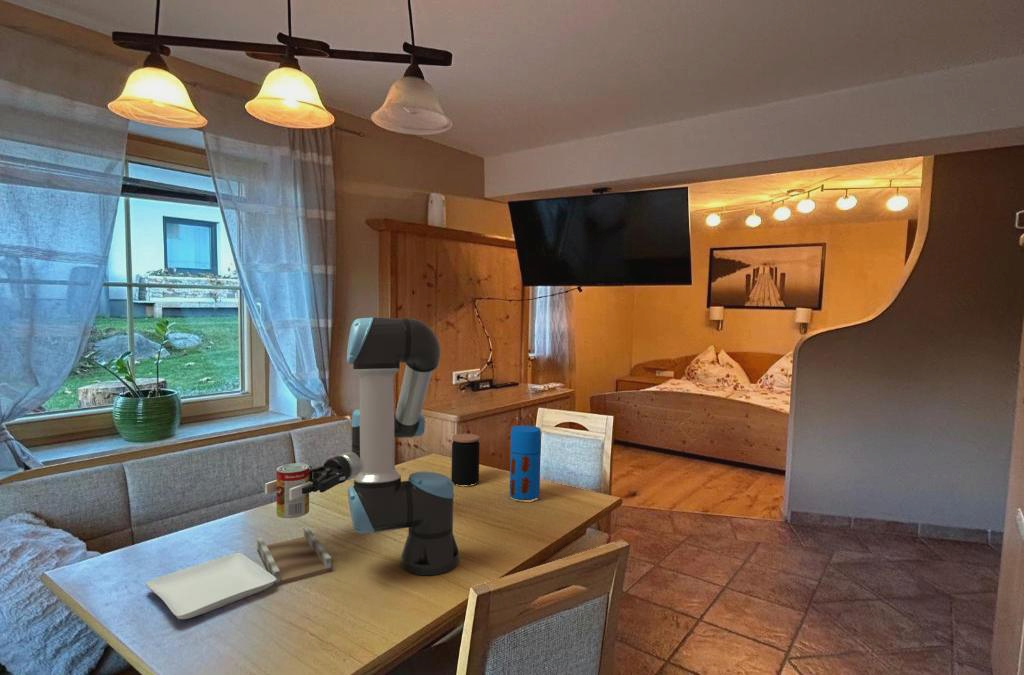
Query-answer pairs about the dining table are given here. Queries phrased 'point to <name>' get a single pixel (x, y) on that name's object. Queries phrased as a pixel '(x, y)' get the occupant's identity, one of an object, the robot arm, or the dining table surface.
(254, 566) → the salad plate
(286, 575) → the track
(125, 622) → the dining table surface
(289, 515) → the canned food
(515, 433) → the thermos
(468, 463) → the coffee jar
